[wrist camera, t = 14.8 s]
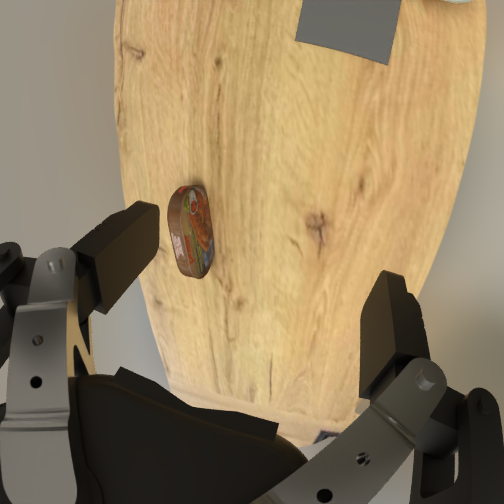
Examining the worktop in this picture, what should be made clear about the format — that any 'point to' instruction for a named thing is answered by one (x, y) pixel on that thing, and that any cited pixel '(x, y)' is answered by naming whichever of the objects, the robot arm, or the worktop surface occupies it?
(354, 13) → the mat
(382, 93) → the worktop surface
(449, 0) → the peg on round base
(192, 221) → the tin
